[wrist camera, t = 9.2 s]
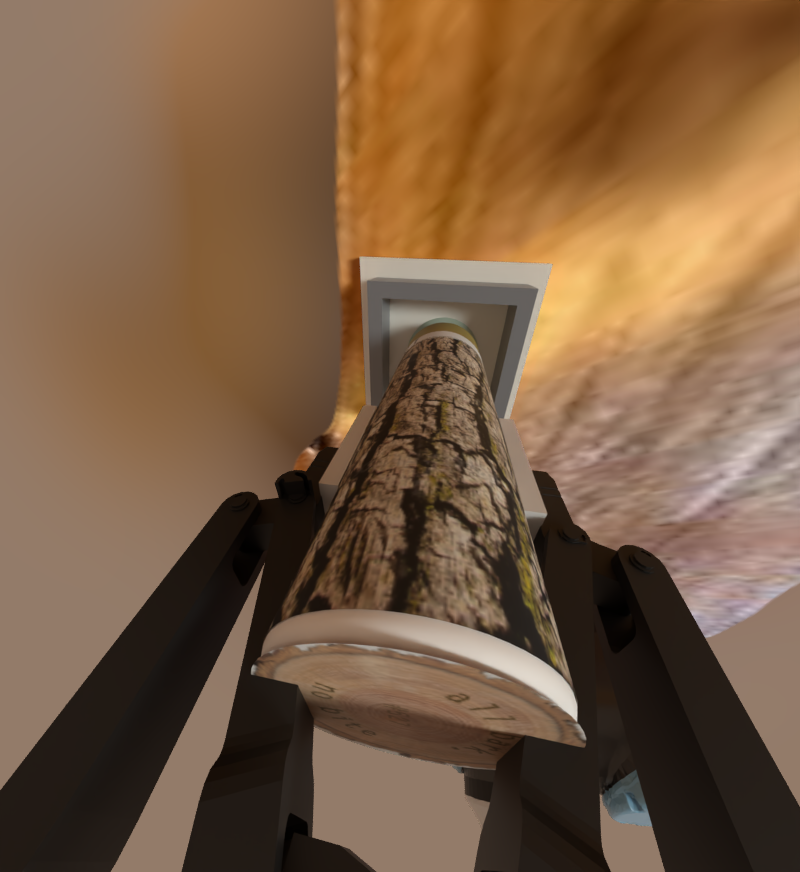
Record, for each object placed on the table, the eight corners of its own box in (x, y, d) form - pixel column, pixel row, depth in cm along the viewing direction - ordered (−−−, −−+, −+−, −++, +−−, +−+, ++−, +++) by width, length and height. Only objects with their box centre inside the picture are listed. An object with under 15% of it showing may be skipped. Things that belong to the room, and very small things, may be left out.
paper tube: (483, 319, 24) (660, 692, 4) (475, 392, 28) (540, 787, 7) (405, 321, 25) (194, 614, 5) (407, 391, 29) (294, 732, 8)
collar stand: (504, 426, 32) (511, 449, 29) (368, 412, 34) (358, 432, 30) (549, 263, 24) (567, 265, 20) (362, 256, 25) (347, 257, 22)
